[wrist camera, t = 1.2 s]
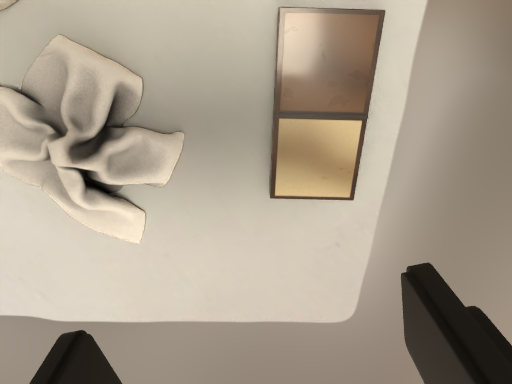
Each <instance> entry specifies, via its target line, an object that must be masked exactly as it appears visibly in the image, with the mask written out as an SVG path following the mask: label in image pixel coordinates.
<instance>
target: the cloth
mask: <svg viewBox="0 0 512 384" xmlns="http://www.w3.org/2000/svg"><path fill="white" fill-rule="evenodd" d="M142 91H143V88H142V79H141V77H139V76H137V75H135V74H134V73H132V72H131V71H130V70H128V69H127V68H125V67H123V66H122V65H120V64H118V63H116V62H114V61H112V60H110V59H107V58H105V57H103V56H101V55H100V54H98V53H96V52H94V51H92V50H90V49H88V48H86V47H84V46H82V45H79V44H77V43H75V42H73V41H71V40H69V39H67V38H66V37H64V36H63V35H58V36H56V37H55V38H54V39H53V40H51V41H50V43H49V44H48V45H47V46H46V47H45V49H44V50H43V51H42V52H41V53H40V55H39V56H38V57H37V58H36V60H35V61H34V63H33V64H32V65H31V67H30V68H29V70H28V71H27V73H26V75H25V77H24V79H23V83H22V87H21V94H20V93H17V92H15V91H14V90H13V89H10V88H4V87H0V167H1V168H2V169H3V170H5V171H6V172H8V173H9V174H10V175H12V176H13V177H15V178H17V179H19V180H21V181H23V182H25V183H28V184H31V185H35V186H41V188H42V190H43V191H44V192H45V193H46V194H48V195H49V196H50V197H51V198H52V199H53V200H55V202H56V203H57V204H58V205H59V206H60V207H61V208H62V209H63V210H64V211H65V212H66V213H67V214H68V215H70V216H71V217H72V218H74V219H75V220H77V221H78V222H80V223H82V224H83V225H85V226H88V227H90V228H92V229H94V230H96V231H99V232H101V233H104V234H107V235H110V236H113V237H117V238H120V239H123V240H126V241H129V242H133V243H136V244H139V243H140V241H141V238H142V235H143V231H144V226H145V219H146V217H145V213H144V212H143V210H140V209H139V208H137V207H136V206H134V205H133V204H131V203H129V202H128V201H126V200H124V199H121V198H118V197H114V196H111V195H109V193H111V192H115V191H118V190H120V189H121V188H122V187H123V186H124V185H126V184H142V183H144V184H148V185H151V186H154V187H163V186H164V185H165V183H166V182H168V181H169V179H170V177H171V174H172V172H173V169H174V167H175V165H176V163H177V161H178V159H179V156H180V154H181V151H182V147H183V142H184V136H185V135H184V133H182V132H174V133H172V134H161V133H157V132H154V131H151V130H147V129H144V128H141V127H135V126H130V127H123V128H122V125H123V123H124V122H125V121H126V120H127V119H128V118H130V117H131V116H133V115H134V113H135V112H136V110H137V109H138V107H139V104H140V102H141V97H142Z"/></svg>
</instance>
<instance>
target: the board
mask: <svg viewBox="0 0 512 384" xmlns="http://www.w3.org/2000/svg"><path fill="white" fill-rule="evenodd" d="M384 16H385V10H363V9H331V8H299V7H279V13H278V34H277V54H276V74H275V95H274V115H273V136H272V156H271V177H270V198H277V199H320V200H354V194H355V188H356V182H357V176H358V170H359V164H360V158H361V152H362V146H363V140H364V134H365V128H366V123H367V118H368V111H369V105H370V99H371V93H372V87H373V81H374V75H375V69H376V63H377V57H378V51H379V45H380V39H381V33H382V27H383V21H384Z"/></svg>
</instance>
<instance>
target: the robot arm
mask: <svg viewBox="0 0 512 384" xmlns="http://www.w3.org/2000/svg"><path fill="white" fill-rule="evenodd" d="M16 1H17V0H0V10H2V9H5V8H7V7H8V6H10V5H11V4H13V3H14V2H16ZM401 285H402V301H403V319H404V334H405V335H404V336H405V343H406V346H407V349H408V351H409V353H410V355H411V357H412V359H413V361H414V363H415V365H416V367H417V369H418V371H419V373H420V375H421V377H422V379H423V381H424V383H425V384H512V346H511V344H510V343H509V342H508V341H507V340H506V338H505V337H504V336H503V335H502V334H501V332H500V331H499V330H498V329H497V328H496V327H495V325H494V324H493V323H492V322H491V321H490V319H489V318H488V317H487V316H486V315H485V314H484V313H483V312H482V311H481V310H480V309H479V308H477V307H476V306H469V307H465V306H464V305H463V303H462V302H461V301H460V300H459V298H458V297H457V296H456V295H455V294H454V292H453V291H452V290H451V288H450V287H449V286H448V285H447V283H446V282H445V281H444V280H443V278H442V277H441V276H440V275H439V273H438V272H437V271H436V269H435V268H434V267H433V266H432V265H431V264H430V263H423V264H418V265H413V266H408V267H407V272H405V273H402V274H401ZM30 384H122V383H121V381H120V379H119V378H118V376H117V375H116V373H115V372H114V370H113V368H112V367H111V366H110V364H109V362H108V361H107V359H106V357H105V356H104V354H103V353H102V351H101V350H100V348H99V346H98V345H97V343H96V342H95V341H94V339H93V337H92V336H91V335H90V334H87V333H86V332H85V331H83V330H79V331H75V332H69V333H64V334H62V335H61V336H60V337H59V338H58V339H57V341H56V343H55V344H54V346H53V347H52V349H51V350H50V352H49V354H48V355H47V357H46V358H45V360H44V361H43V363H42V365H41V366H40V368H39V369H38V371H37V373H36V374H35V376H34V377H33V379H32V380H31V382H30Z"/></svg>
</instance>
